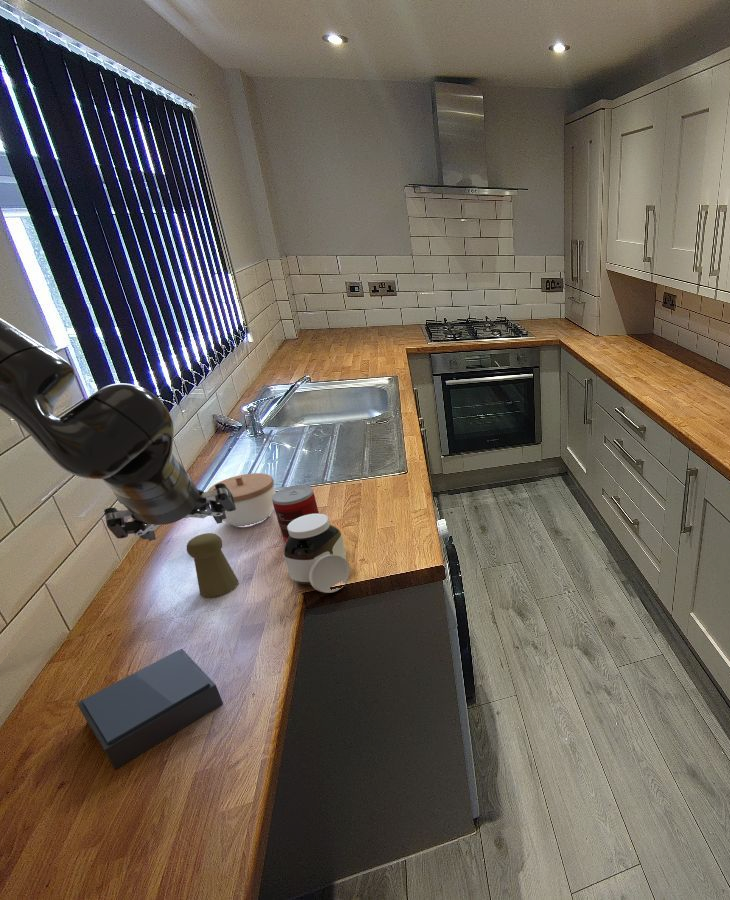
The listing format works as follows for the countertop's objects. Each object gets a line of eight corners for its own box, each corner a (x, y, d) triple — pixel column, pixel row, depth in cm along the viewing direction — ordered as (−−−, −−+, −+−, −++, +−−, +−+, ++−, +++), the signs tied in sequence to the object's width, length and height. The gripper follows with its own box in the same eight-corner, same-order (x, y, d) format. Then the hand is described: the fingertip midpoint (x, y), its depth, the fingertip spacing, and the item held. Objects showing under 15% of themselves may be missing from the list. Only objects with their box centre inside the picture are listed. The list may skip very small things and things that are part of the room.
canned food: (318, 524, 119) (307, 481, 115) (328, 539, 113) (317, 494, 109) (280, 536, 115) (268, 491, 110) (288, 552, 109) (275, 506, 105)
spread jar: (320, 557, 107) (307, 507, 102) (371, 562, 105) (360, 512, 101) (277, 595, 96) (261, 541, 92) (333, 601, 94) (319, 546, 90)
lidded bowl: (269, 531, 116) (256, 487, 112) (207, 537, 115) (191, 492, 110) (291, 504, 128) (279, 463, 124) (235, 509, 126) (221, 467, 122)
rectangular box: (115, 770, 65) (103, 747, 63) (87, 722, 71) (75, 700, 70) (223, 703, 74) (215, 682, 72) (189, 666, 80) (181, 646, 79)
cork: (197, 587, 98) (178, 537, 94) (234, 573, 102) (218, 525, 98) (203, 602, 94) (184, 550, 90) (242, 587, 98) (225, 537, 94)
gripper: (214, 450, 74) (234, 492, 87) (79, 476, 66) (123, 517, 80) (226, 497, 72) (245, 533, 85) (88, 530, 64) (132, 563, 78)
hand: (186, 525), depth 82 cm, fingers open, 8 cm apart
